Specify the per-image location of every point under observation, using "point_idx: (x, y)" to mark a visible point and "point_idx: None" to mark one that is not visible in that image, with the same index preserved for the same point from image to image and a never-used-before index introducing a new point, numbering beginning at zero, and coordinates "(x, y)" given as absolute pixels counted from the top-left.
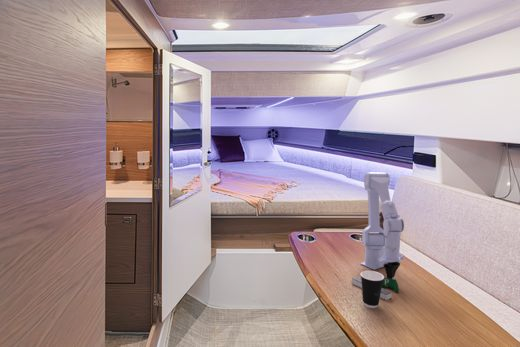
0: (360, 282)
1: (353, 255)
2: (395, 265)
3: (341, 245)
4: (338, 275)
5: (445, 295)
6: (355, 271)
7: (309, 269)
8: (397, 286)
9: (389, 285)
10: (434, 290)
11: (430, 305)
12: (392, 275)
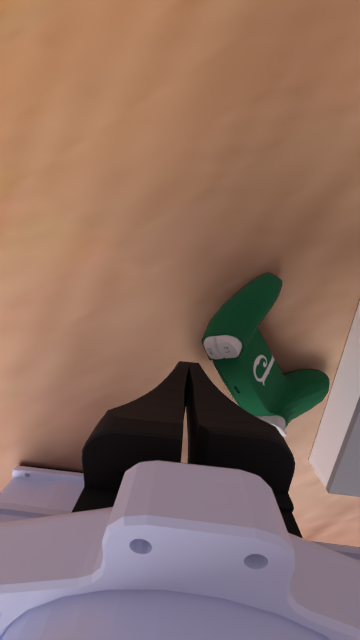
0: None
1: None
2: (233, 438)
3: None
4: (305, 530)
5: (36, 44)
6: None
7: None
8: (263, 289)
9: (261, 337)
10: (39, 145)
11: (281, 19)
12: (202, 375)
